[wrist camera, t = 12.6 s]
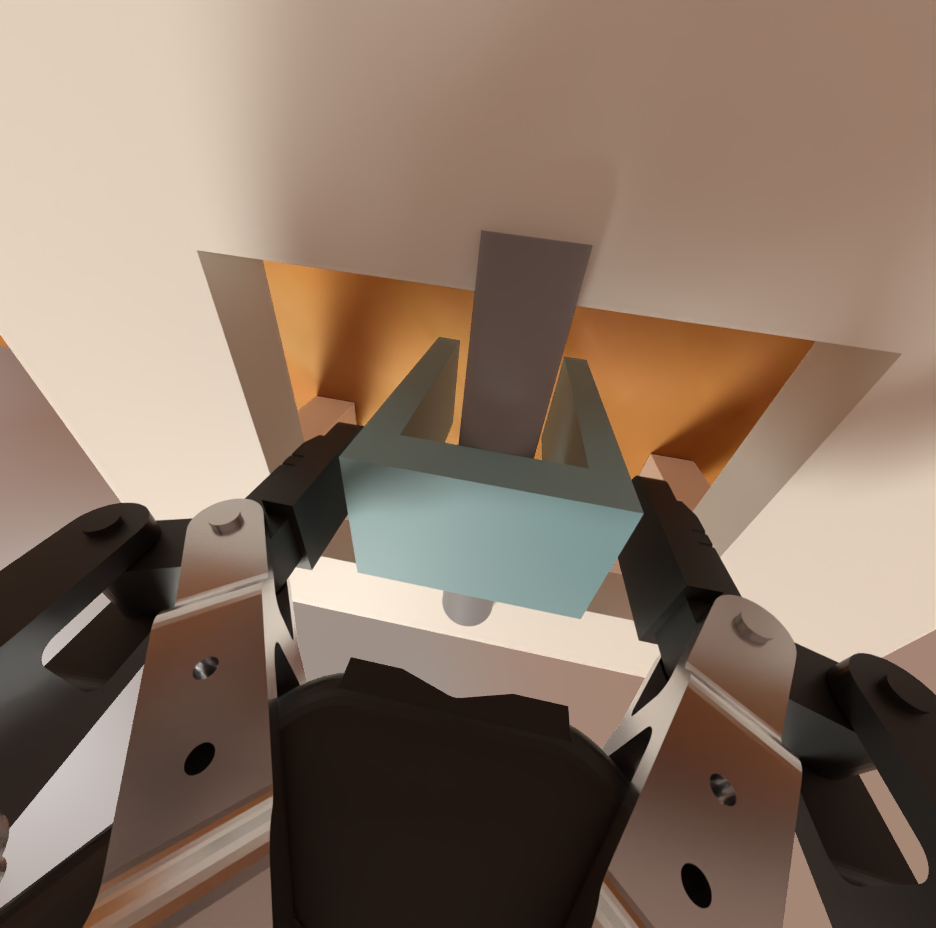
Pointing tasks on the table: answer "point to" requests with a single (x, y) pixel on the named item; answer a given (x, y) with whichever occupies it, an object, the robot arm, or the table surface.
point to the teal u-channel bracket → (489, 496)
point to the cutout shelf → (495, 257)
